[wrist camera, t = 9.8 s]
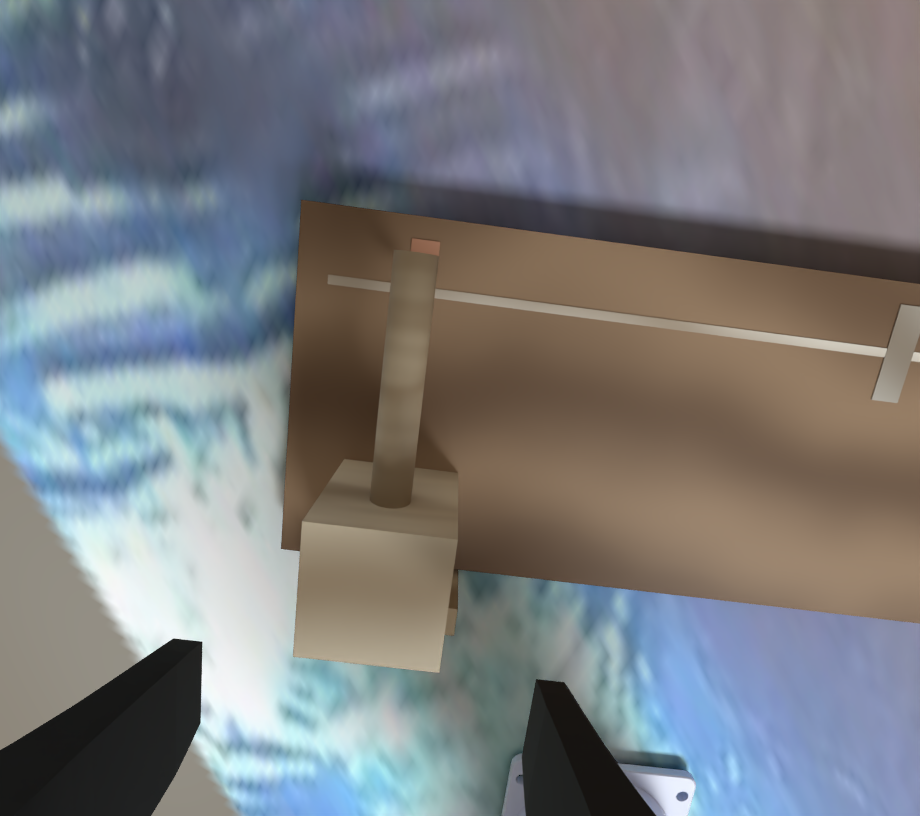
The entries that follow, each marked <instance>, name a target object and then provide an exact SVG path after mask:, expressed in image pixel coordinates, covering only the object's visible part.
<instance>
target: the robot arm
mask: <svg viewBox="0 0 920 816" xmlns="http://www.w3.org/2000/svg"><path fill="white" fill-rule="evenodd" d="M201 675H202V642H199V641H190V640H181V639H172V640H171V641H169V642H168V643H166V644H165V645H163V646H162V647H160V648H159V649H157V650H156V651H154V652H153V653H151V654H150V655H148V656H147V657H145V658H144V659H142V660H141V661H139V662H138V663H137V664H135V665H134V666H132V667H131V668H129V669H128V670H126V671H125V672H123V673H122V674H120V675H119V676H117V677H116V678H114V679H113V680H112V681H110V682H109V683H107V684H105V685H104V686H102V687H101V688H100V689H98V690H96V691H95V692H93V693H92V694H90V695H89V696H87V697H86V698H84V699H83V700H81V701H80V702H78V703H77V704H75V705H74V706H72V707H71V708H69V709H67V710H66V711H64V712H62V713H61V714H59V715H58V716H56V717H54V718H53V719H51V720H49V721H48V722H46V723H45V724H43V725H41V726H40V727H38V728H37V729H35V730H33V731H32V732H30V733H28V734H27V735H25V736H23V737H22V738H20V739H19V740H17V741H15V742H14V743H12V744H10V745H9V746H7V747H5V748H3V749H2V750H0V816H151V815H152V813H153V812H154V810H155V808H156V807H157V805H158V803H159V802H160V800H161V798H162V797H163V795H164V793H165V792H166V790H167V789H168V787H169V785H170V783H171V782H172V780H173V778H174V777H175V775H176V773H177V771H178V769H179V767H180V765H181V763H182V761H183V759H184V757H185V755H186V753H187V751H188V748H189V746H190V744H191V742H192V740H193V738H194V735H195V733H196V731H197V729H198V727H199V725H200V718H201ZM519 775H523V776H519ZM695 788H696V783H695V781H694V779H693V777H692V774H691V773H689V772H688V771H685V770H676V769H667V768H658V767H648V766H639V765H629V764H620V763H617V762H616V760H615V759H614V758H613V756H612V755H611V753H610V752H609V750H608V749H607V748H606V746H605V745H604V743H603V742H602V740H601V739H600V737H599V736H598V734H597V733H596V731H595V729H594V728H593V726H592V725H591V723H590V722H589V720H588V719H587V717H586V715H585V714H584V712H583V711H582V709H581V708H580V706H579V704H578V703H577V701H576V700H575V698H574V696H573V695H572V693H571V692H570V690H569V688H568V687H567V686H566V684H565V683H564V682H556V681H547V680H538V679H536V683H535V689H534V694H533V700H532V705H531V710H530V716H529V721H528V726H527V732H526V737H525V742H524V748H523V753H520V754H518V755H516V756H515V757H513V759H512V761H511V766H510V771H509V777H508V782H507V788H506V793H505V799H504V804H503V810H502V815H501V816H688V813H689V809H690V806H691V802H692V799H693V795H694V792H695ZM679 792H680V793H679Z"/></svg>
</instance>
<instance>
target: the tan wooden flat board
mask: <svg viewBox="0 0 920 816" xmlns="http://www.w3.org/2000/svg"><path fill="white" fill-rule="evenodd" d="M394 250H404V251H413V252H420V253H426V254H432V255H437V256H439V263H438V271H437V280H436V289H435V297H434V306H433V314H432V323H431V332H430V340H429V349H428V358H427V366H426V375H425V383H424V392H423V401H422V409H421V418H420V427H419V435H418V444H417V452H416V461H415V468H422V469H430V470H438V471H447V472H455V473H458V542H457V549H456V556H455V564H454V569H458V570H467V571H475V572H484V573H492V574H501V575H509V576H518V577H527V578H535V579H544V580H552V581H561V582H569V583H578V584H587V585H595V586H604V587H612V588H621V589H629V590H638V591H647V592H655V593H664V594H672V595H681V596H689V597H698V598H707V599H715V600H724V601H732V602H741V603H749V604H758V605H767V606H775V607H784V608H792V609H801V610H809V611H818V612H827V613H835V614H844V615H852V616H861V617H870V618H878V619H887V620H895V621H904V622H912V623H920V284H916V283H908V282H901V281H893V280H886V279H879V278H871V277H864V276H857V275H849V274H842V273H835V272H827V271H820V270H813V269H805V268H798V267H791V266H783V265H776V264H769V263H761V262H754V261H747V260H739V259H732V258H725V257H717V256H710V255H703V254H695V253H688V252H681V251H673V250H666V249H659V248H651V247H644V246H637V245H629V244H622V243H615V242H607V241H600V240H593V239H585V238H578V237H571V236H563V235H556V234H549V233H541V232H534V231H527V230H519V229H512V228H505V227H497V226H490V225H483V224H475V223H468V222H461V221H453V220H446V219H439V218H431V217H424V216H417V215H409V214H402V213H395V212H387V211H380V210H373V209H365V208H358V207H351V206H343V205H336V204H329V203H321V202H314V201H307V200H301V215H300V233H299V250H298V267H297V284H296V301H295V319H294V336H293V353H292V370H291V388H290V405H289V422H288V439H287V457H286V474H285V491H284V508H283V525H282V543H281V549H286V550H295V551H300V545H301V530H302V521H303V519H304V518H305V516H306V515H307V513H308V512H309V510H310V509H311V507H312V506H313V504H314V503H315V502H316V500H317V499H318V497H319V496H320V494H321V493H322V491H323V490H324V488H325V487H326V485H327V484H328V482H329V481H330V479H331V478H332V476H333V475H334V473H335V472H336V471H337V469H338V468H339V466H340V465H341V463H342V462H343V460H344V459H348V460H357V461H365V462H373V459H374V449H375V439H376V428H377V418H378V408H379V398H380V387H381V377H382V367H383V356H384V346H385V336H386V325H387V315H388V305H389V295H390V284H391V274H392V264H393V253H394Z"/></svg>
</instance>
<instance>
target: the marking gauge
mask: <svg viewBox="0 0 920 816" xmlns="http://www.w3.org/2000/svg"><path fill="white" fill-rule="evenodd" d="M438 263H439V256H437V255H432V254H426V253H420V252H413V251H404V250H394V253H393V264H392V274H391V284H390V295H389V305H388V315H387V325H386V336H385V346H384V356H383V367H382V377H381V387H380V398H379V408H378V418H377V428H376V439H375V449H374V459H373V462H365V461H357V460H348V459H344V460H343V462H342V463H341V465H340V466H339V468H338V469H337V471H336V472H335V473H334V475H333V476H332V478H331V479H330V481H329V482H328V484H327V485H326V487H325V488H324V490H323V491H322V493H321V494H320V496H319V497H318V499H317V500H316V502H315V503H314V504H313V506H312V507H311V509H310V510H309V512H308V513H307V515H306V516H305V518H304V519H303V521H302V530H301V545H300V560H299V574H298V589H297V604H296V619H295V634H294V649H293V657H300V658H309V659H318V660H327V661H336V662H345V663H354V664H363V665H372V666H381V667H390V668H399V669H409V670H418V671H427V672H436V673H439V671H440V664H441V657H442V649H443V642H444V635H451V636H454V632H455V625H456V618H457V611H458V569H454V564H455V556H456V549H457V542H458V473H455V472H447V471H438V470H430V469H422V468H415V461H416V452H417V444H418V435H419V427H420V418H421V409H422V401H423V392H424V383H425V375H426V366H427V358H428V349H429V340H430V332H431V323H432V314H433V306H434V297H435V289H436V280H437V271H438Z"/></svg>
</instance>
